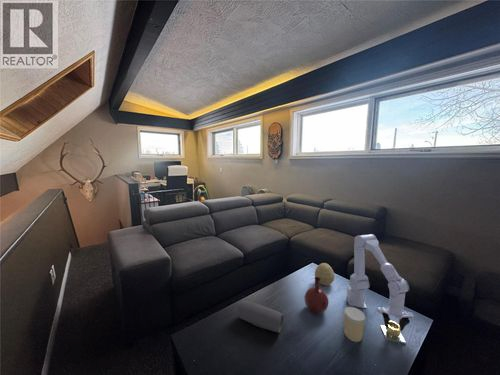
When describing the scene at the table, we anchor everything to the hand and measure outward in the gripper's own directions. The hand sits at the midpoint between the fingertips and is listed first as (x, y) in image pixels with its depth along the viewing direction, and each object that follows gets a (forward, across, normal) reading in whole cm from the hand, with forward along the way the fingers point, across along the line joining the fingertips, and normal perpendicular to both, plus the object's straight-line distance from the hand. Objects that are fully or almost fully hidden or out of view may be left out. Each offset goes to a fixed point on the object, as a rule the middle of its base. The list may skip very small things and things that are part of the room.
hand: (393, 328), depth 97 cm
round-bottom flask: (+4, -36, +7) cm, 37 cm away
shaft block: (+4, 0, 0) cm, 4 cm away
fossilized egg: (+4, -29, +34) cm, 45 cm away
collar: (+2, 0, 0) cm, 2 cm away
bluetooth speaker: (+4, -65, -11) cm, 66 cm away
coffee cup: (+4, -19, -5) cm, 20 cm away
